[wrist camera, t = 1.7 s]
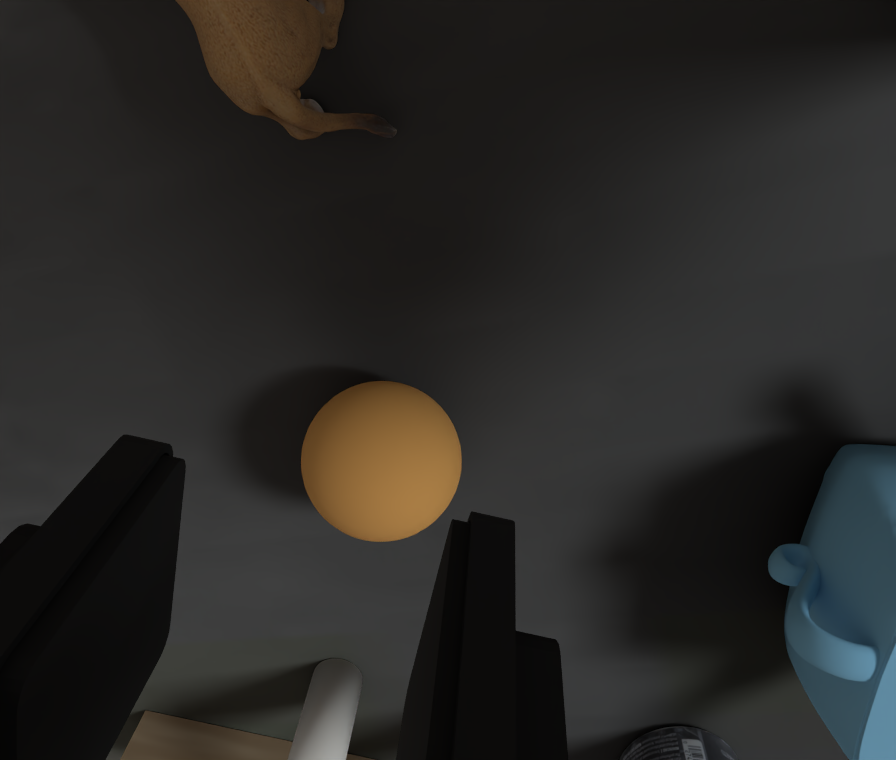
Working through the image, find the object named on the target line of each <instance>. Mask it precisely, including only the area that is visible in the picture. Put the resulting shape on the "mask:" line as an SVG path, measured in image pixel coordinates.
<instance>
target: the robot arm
mask: <svg viewBox="0 0 896 760" xmlns="http://www.w3.org/2000/svg"><path fill="white" fill-rule="evenodd" d="M185 468H186V465H185V461H184V459H180V458H176V457H173V450H172V446H171V445H170V444H167V443H162V442H158V441H154V440H149V439H145V438H140V437H136V436H131V435H123V436H122V437H120V438H119V439H118V440H117V441H116V442H115V444H114V445H113V446H112V447H111V448H110V449H109V450H108V451H107V453H106V454H105V455H104V456H103V457H102V458H101V459H100V460H99V462H98V463H97V464H96V465H95V466H94V467H93V468H92V469H91V470H90V472H89V473H88V474H87V475H86V476H85V477H84V478H83V479H82V481H81V482H80V483H79V484H78V485H77V486H76V487H75V488H74V490H73V491H72V492H71V493H70V494H69V495H68V496H67V497H66V499H65V500H64V501H63V502H62V503H61V504H60V505H59V506H58V507H57V509H56V510H55V511H54V512H53V513H52V514H51V515H50V516H49V518H48V519H47V520H46V521H45V522H44V523H43V524H42V525H41V526H36V525H32V524H24V525H21V526H19V527H17V528H16V529H15V530H14V531H13V532H11V533H10V534H9V535H8V536H7V537H6V538H5V539H4V541H3V542H2V543H1V544H0V760H105V759H106V758H107V756H108V754H109V752H110V750H111V748H112V746H113V744H114V743H115V741H116V739H117V737H118V735H119V733H120V731H121V730H122V728H123V726H124V724H125V722H126V720H127V718H128V716H129V715H130V713H131V711H132V709H133V707H134V705H135V703H136V701H137V700H138V698H139V696H140V694H141V692H142V690H143V688H144V686H145V685H146V683H147V681H148V679H149V677H150V675H151V673H152V671H153V670H154V668H155V666H156V664H157V662H158V660H159V658H160V656H161V654H162V652H163V649H164V647H165V644H166V641H167V638H168V633H169V629H170V621H171V611H172V601H173V591H174V581H175V571H176V561H177V551H178V541H179V531H180V521H181V510H182V500H183V490H184V480H185ZM396 760H568V751H567V737H566V724H565V710H564V696H563V683H562V669H561V655H560V648H559V644H558V642H557V640H555V639H551V638H546V637H542V636H537V635H533V634H528V633H524V632H519V631H516V628H515V522H514V521H512V520H508V519H503V518H499V517H494V516H490V515H485V514H481V513H477V512H471V513H470V516H469V519H468V522H463V521H459V520H454V519H452V521H451V524H450V528H449V532H448V536H447V539H446V543H445V547H444V551H443V555H442V559H441V562H440V566H439V570H438V574H437V578H436V581H435V585H434V589H433V593H432V597H431V601H430V604H429V608H428V612H427V616H426V620H425V624H424V627H423V631H422V635H421V639H420V643H419V647H418V650H417V654H416V658H415V662H414V666H413V669H412V673H411V677H410V681H409V686H408V690H407V695H406V700H405V706H404V712H403V718H402V725H401V731H400V738H399V744H398V751H397V758H396Z"/></svg>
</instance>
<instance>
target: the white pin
mask: <svg viewBox="0 0 896 760" xmlns="http://www.w3.org/2000/svg"><path fill="white" fill-rule="evenodd" d="M362 684H363V677H362V673H361V672H360V670H359V669H358V668H357V667H356V666H355V665H354V664H353V663H351V662H349V661H347V660H344V659H338V658H332V659H327V660H324V661H322V662H320V663H319V664H318V665H317V666H316V667H315V669H314V672H313V675H312V679H311V682H310V685H309V689H308V692H307V696H306V699H305V702H304V706H303V709H302V712H301V716H300V719H299V723H298V726H297V729H296V733H295V736H294V740H293V743H292V746H291V750H290V753H289V757H288V760H346V757H347V752H348V748H349V743H350V739H351V734H352V729H353V725H354V720H355V716H356V711H357V707H358V702H359V697H360V693H361V688H362Z"/></svg>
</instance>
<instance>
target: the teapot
mask: <svg viewBox="0 0 896 760" xmlns="http://www.w3.org/2000/svg"><path fill="white" fill-rule="evenodd" d="M768 571H769V574H770V575H771V577H772V578H773V579H774V580H776V581H777V582H779V583H781V584H784V585H788V586H790V587H789V592H788V597H787V602H786V609H785V615H784V635H785V642H786V648H787V652H788V655H789V658H790V660H791V662H792V665H793V667H794V669H795V671H796V674H797V676H798V678H799V680H800V682H801V684H802V686H803V688H804V689H805V691H806V693H807V695H808V697H809V699H810V701H811V702H812V704H813V706H814V707H815V709H816V711H817V712H818V714H819V716H820V717H821V719H822V720H823V722H824V723H825V725H826V727H827V728H828V729H829V731H830V732H831V734H832V735H833V737H834V738H835V740H836V741H837V743H838V744H839V746H840V747H841V749H842V750H843V752H844V753H845V754H846V756H847V757H848V759H849V760H896V446H888V445H871V444H846V445H844V446H843V447H841V448H840V449H839V451H838V452H837V453H836V455H835V457H834V458H833V460H832V462H831V464H830V466H829V467H828V469H827V470H826V472H825V474H824V478H823V482H822V484H821V487H820V489H819V492H818V494H817V497H816V499H815V502H814V504H813V507H812V510H811V512H810V515H809V518H808V520H807V523H806V526H805V528H804V532H803V535H802V538H801V541H800V544H784V545H781V546H779V547H777V548H776V549H775V550H774V551H773V552H772V554H771V555H770V557H769V560H768Z"/></svg>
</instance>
